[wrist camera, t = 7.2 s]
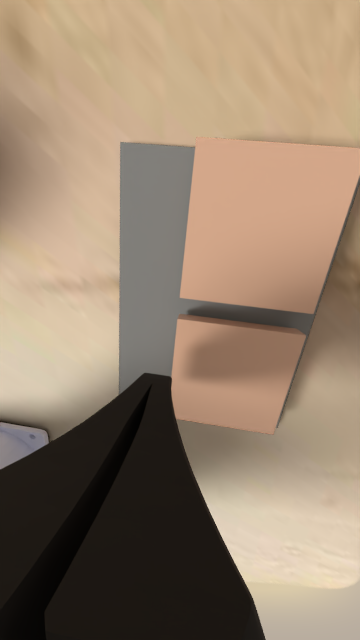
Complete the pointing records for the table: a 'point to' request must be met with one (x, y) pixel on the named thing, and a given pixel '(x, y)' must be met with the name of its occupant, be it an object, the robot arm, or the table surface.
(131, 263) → the mat
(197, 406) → the tile
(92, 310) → the table surface
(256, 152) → the tile
